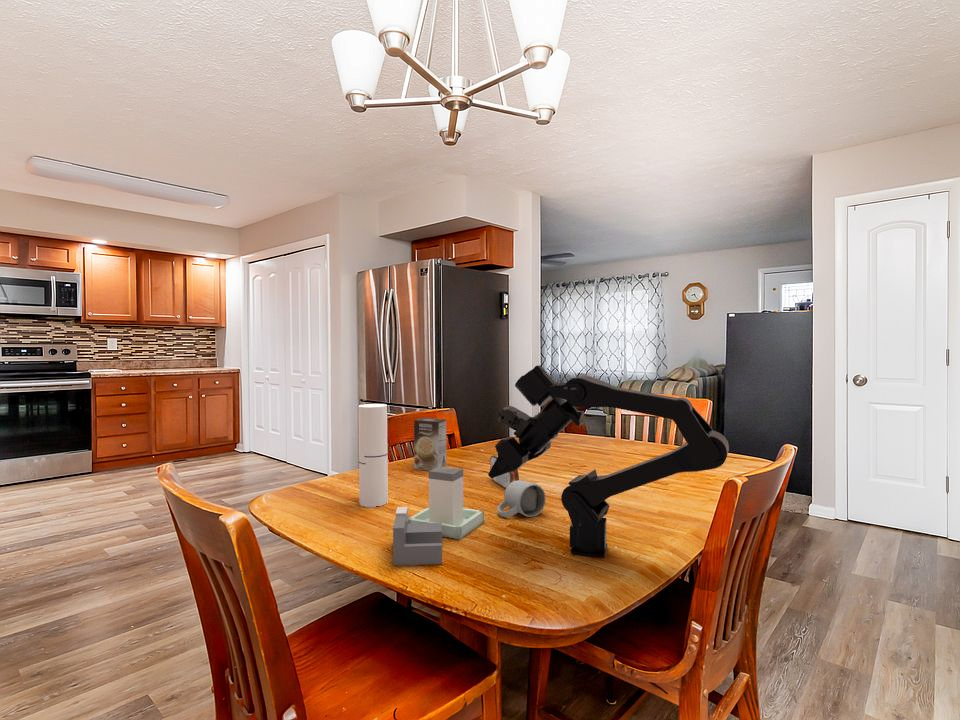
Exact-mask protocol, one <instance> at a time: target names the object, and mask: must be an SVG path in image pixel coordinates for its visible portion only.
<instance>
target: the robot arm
mask: <svg viewBox="0 0 960 720" xmlns="http://www.w3.org/2000/svg"><path fill="white" fill-rule="evenodd" d="M514 387H515V388H516V390H518V391H519V392H520V393H521V395H522V396H523V397H524V399H526V401H528V403H529V404H530V405H531V406H532V407H535V406H537V405H538V407H540V408H541V407H543V406H544V407H543V408H542V409H541V410H540V411H539V412H538V413H537V414H536V415H534V416H530V415H528V413H526V412H524V411H522V410H521V409H518V408H516V407H515V406H512V405H508V406H505V407H503V409H502V410H501V412H499V413H498V417H499V418H498V420H497V422H498V423H499V424H501V425H505V426H507V427H508V428H510V429H512V430H513V431H514V432H513V435H514V436H506V437H503V438H502V439H500V440H499V441H498V442H497V443H496V444H495V445H494V447H495V451H496V452H497V454H498V457H497V459H496V461H495V463H494V465H493V466H492V468H491V469H490V470H489V472H488V473H487V475H488V477H489V478H490V479H493V478H494V477H497V476H500V475H503V474H505V473H508V472H511V471H515V470H517V469H518V470H519V469H520V468H521V467H523V466H524V465H525V464H526V463H527V462H528V461H531V460H534V459H536V458H538V457H540V456H542V455H543V454H545V453H546V452H547V451H549V450H550V448H551V446H552V445H551V443H552V442H551V441H553V440H554V439H556V438H557V437H558V436H559V435H558V434H559V433H561V432H562V431H563V430H564V429H565V428H566V427H567V426H568V425H570V423H571V422H573V423H574V424H575V425H576V427H579V426H582V425H584V424H585V418H584V416H585V411H584V410H578V409H577V408H613V409H619V410H623V411H624V410H625V411H628V412H634V413H639V414H644V415H650V416H654V417H659V418H664V419H670V420H672V421H673V422H674V424H675V425H676V426H677V428H678V431H679V432H680V434H681V435H682V437H683V438H684V441H685V442H684V443H682V444H681V445H680V446H678V447H676V448H675V449H674V450H670V451H668V452H666V453H663V454H661V455H658V456H655V457H653V458H650V459H648V460H644V461H641V462H638V463H635V464H633V465H631V466H628V467H625V468H623V469H620V470H617V471H615V472H612V473H609V474H605V475H598V474H597V470H596V469H593V470H591V471H590V472H588V473H586V474H578V475H576V476H575V477H574V478H572V479H571V480H570V481H569V482H568V485H567V486H566V487H565V488H564V489H563V490H562V492H561V495H560V497H561V499H560V501H561V504H562V506H563V508H564V509H565V510H566V511H567V513H568V516H569V519H570V522H571V524H570V525H569V547H570V548H571V549H570V554H572V555H577V556H578V555H579V556H586V557H595V558H596V557H597V558H606V553H607V550H608V543H607V518H606V517H605V516H606V515H608V512H609V509H610V504H609V503H608V502H607V501H606V500H608V499H609V498H610V497H613V496H616V495H618V494H621V493H622V494H623V493H625V492H627V491H631V490H633V489H636V488H640V487H641V486H646V485H648V484H650V483H653V482H656V481H659V480H662V479H664V478H665V479H666V478H668V477H670V476H674V475H676V474H679V473H695V472H703V471H709V470H715V469H718V468H719V467H721V466H723V465H724V464H725V462H726V460H727V457H728V455H729V451H730V445H729V444H730V443H729V441H728V440H727V438H726V436H724V435H723V434H722V433H720V432H718V431H715V430H713V428H712V427H711V425H710V424H709V423H708V422H707V420H706V419H705V418H704V417H703V416H702V415H701V414H700V413H699V412H698V411H697V410H696V409H695V406H693V403H692V402H691V401H690V400H689V399H687V398H685V397H682V396H680V397H673V396H669V395H664V394H656V393H650V392H646V391H640V390H635V389H627V388H623V387H617V386H614V385H612V384H609V383H607V382H606V381H604V380H601V379H599V378H596V377H593V376H589V375H581V376H577V377H572V378H570V379H568V381H566V382H564V381H563V382H557V383H556V381H555V380H554V379H553V378H551V376H550V375H549V374H548V373H547V371H546V370H545V369H544V367H543V366H542V365H540V364H539V365H535V366H534V367H533V369H530V370H529V371H528V372H526V373H525V374H523V375H521V376H520V377H519V378H518V380H517V381H516V382H515V384H514ZM547 403H548V404H547ZM515 437H516V438H515ZM517 438H518V440H517Z"/></svg>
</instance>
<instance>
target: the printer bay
mask: <svg viewBox="0 0 960 720" xmlns="http://www.w3.org/2000/svg"><path fill="white" fill-rule="evenodd" d="M408 509H409V507H408V506H397V508H396V511H395V519H394V523H393V528H392V555H393V556H392V557H393V558H392V561H393V563H392V565H393V567H394V566H399V567H400V566H425V565H429V566H430V565H443V537H442V523H423V524H408V518H409V517H408V516H409V515H408V514H409V513H408V512H409V511H408Z"/></svg>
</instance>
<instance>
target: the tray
mask: <svg viewBox="0 0 960 720" xmlns="http://www.w3.org/2000/svg"><path fill="white" fill-rule="evenodd" d="M423 523H438V522H432V521H429V506H428V507H426V508H424V509H423V510H421V511H418V513H416V514H413V515H411V516H410V517H408V524H423ZM483 523H485V511H484V510H478V509H472V508H466V507H463V522H462V523H461V524H459V525H458V526H456V525H450V524H444V523H442V538H447V537H449V538H448V539H452V538H454V540H459V541H460V540H462V539H464V537H466V536H467V535H468V534H470V533H471V532H472V531H474V530H475V529H477V528H478V527H480V525H482V524H483Z"/></svg>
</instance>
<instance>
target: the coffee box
mask: <svg viewBox="0 0 960 720" xmlns="http://www.w3.org/2000/svg"><path fill="white" fill-rule="evenodd" d="M440 466H441V467H447V419H446V418H445V419H443V418H436V417H435V418H434V417H433V418H432V417H420V418H417V419H414V420H413V469H414V470H419V471H425V472H426V471H428V472H429V471H430V470H433V469H435V468H437V467H440Z"/></svg>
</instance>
